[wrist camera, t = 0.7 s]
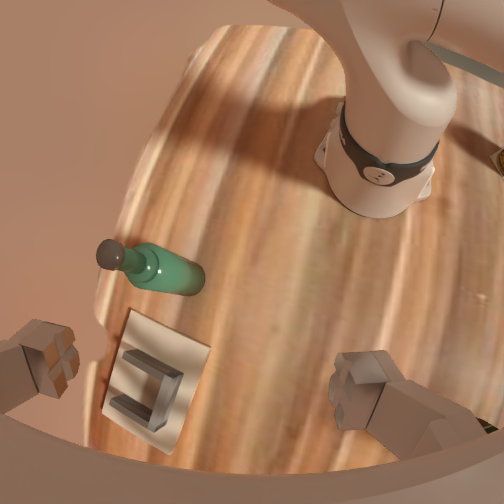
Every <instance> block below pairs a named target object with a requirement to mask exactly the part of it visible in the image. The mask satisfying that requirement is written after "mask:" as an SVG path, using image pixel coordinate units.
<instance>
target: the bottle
mask: <svg viewBox="0 0 504 504" xmlns="http://www.w3.org/2000/svg"><path fill="white" fill-rule="evenodd" d="M96 259H97V263H98V264H99V266H100V267H101V268H103V269H107V270H111V271H114V270H119V271H123V272H124V273H125V275H126V276H127V277H128V279H129V281H130V282H131V283H132V284H133V285H134V286H135V287H137V288H140V289H145V290H151V291H157V292H163V293H170V294H176V295H183V296H193V295H196V294H197V293H199V292H200V291H201V290H202V288H203V286H204V284H205V273H204V270H203V269H202V267H201V266H200V265H199V264H197V263H195V262H193V261H190V260H188V259H186V258H184V257H181V256H179V255H177V254H175V253H172V252H170V251H168V250H166V249H163V248H161V247H159V246H157V245H154V244H152V243H142V244H140V245H138V246H135V247H133V248H131V249H130V248H127V247H124V246H123V245H122V244H121V243H119V242H117V241H115V240H112V239H107V240H104V241H103V242H102V243H101V244H100V245H99V247H98V249H97V254H96Z"/></svg>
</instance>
